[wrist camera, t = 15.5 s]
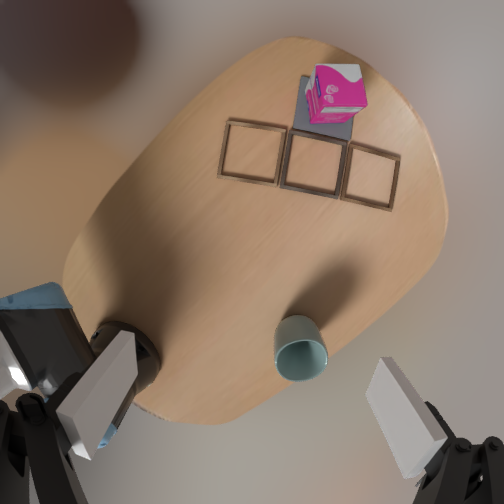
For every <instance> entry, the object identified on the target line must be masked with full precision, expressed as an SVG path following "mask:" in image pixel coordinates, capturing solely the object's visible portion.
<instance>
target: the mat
mask: <svg viewBox="0 0 504 504" xmlns="http://www.w3.org/2000/svg"><path fill="white" fill-rule="evenodd" d="M309 79H310V78H308V77H303V76H301V79H300V86H299V92H298V99H297V105H296V112H295V118H294V124H293V128H294V129H299V130H304V131H309V132H314V133H318V134H323V135H327V136H331V137H335V138H339V139H343V140H347V141H350V137H351V130H352V122H353V116H352V117H351V118H350V119H348V120H347V121H346V122H345V123H324V124H310V121H309V112H308V106H307V100H306V95H305V89H306V86H307V84H308V81H309Z"/></svg>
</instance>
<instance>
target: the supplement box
mask: <svg viewBox="0 0 504 504" xmlns="http://www.w3.org/2000/svg"><path fill="white" fill-rule="evenodd" d="M305 95H306V100H307V106H308V112H309V121H310V124H324V123H345V122H346V121H347V120H348V119H350V118H351V117H352V116H354V115H355V114H356V113H358V112H359V111H360V110H362V109H363V108H365V107H366V106H367V105H368V104H367V98H366V93H365V87H364V83H363V78H362V74H361V70H360V66H359V64H315V67H314V69H313V72H312V74H311V77H310V79H309V81H308V84H307V86H306V89H305Z"/></svg>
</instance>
